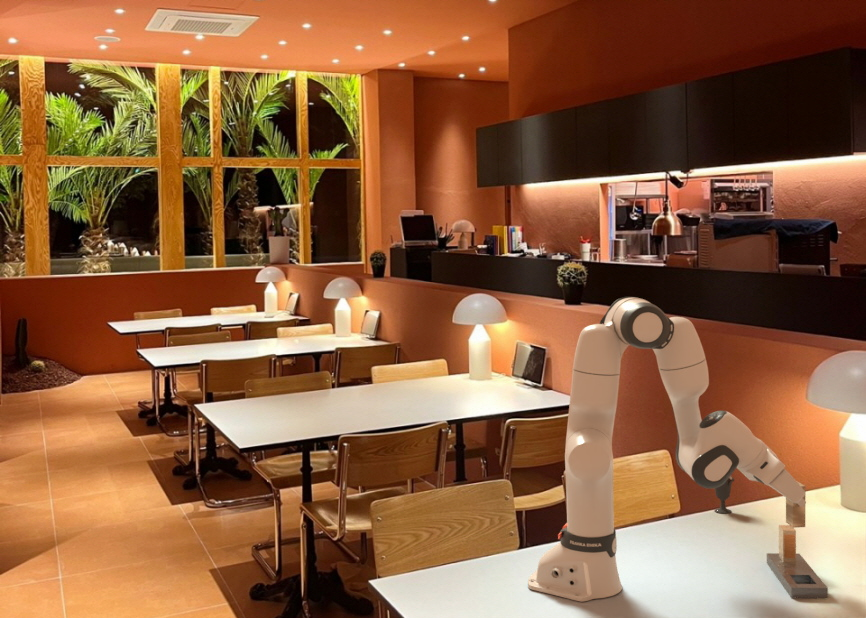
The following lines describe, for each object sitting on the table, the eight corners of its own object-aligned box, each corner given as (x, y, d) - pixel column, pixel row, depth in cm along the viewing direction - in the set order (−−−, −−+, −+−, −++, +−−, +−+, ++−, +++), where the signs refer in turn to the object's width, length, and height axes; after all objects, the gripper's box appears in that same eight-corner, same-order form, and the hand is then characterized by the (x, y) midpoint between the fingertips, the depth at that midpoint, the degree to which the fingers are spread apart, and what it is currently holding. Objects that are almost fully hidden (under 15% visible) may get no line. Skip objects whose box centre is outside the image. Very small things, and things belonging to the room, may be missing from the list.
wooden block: (792, 527, 212) (792, 486, 211) (785, 522, 216) (785, 481, 215) (805, 527, 212) (805, 486, 211) (797, 521, 216) (797, 481, 215)
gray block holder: (791, 598, 203) (791, 553, 202) (766, 562, 225) (766, 522, 224) (827, 598, 202) (827, 553, 201) (799, 563, 224) (799, 522, 223)
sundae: (719, 515, 263) (719, 466, 262) (707, 509, 270) (706, 461, 268) (739, 513, 265) (738, 464, 264) (726, 507, 271) (725, 458, 270)
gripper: (732, 461, 223) (771, 497, 224) (765, 483, 202) (807, 523, 203) (750, 443, 223) (788, 479, 224) (784, 463, 202) (826, 503, 203)
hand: (797, 500), depth 213 cm, fingers closed on wooden block, 4 cm apart
